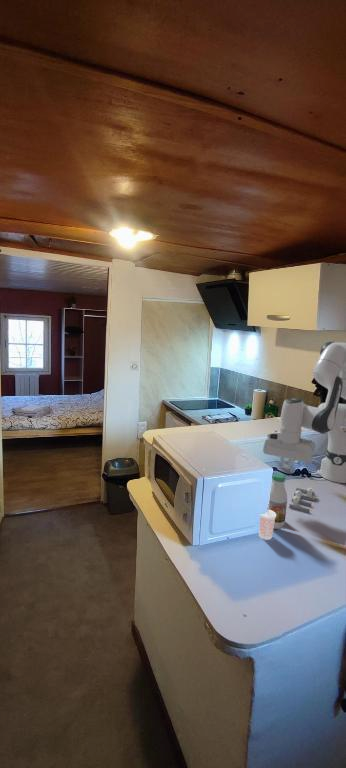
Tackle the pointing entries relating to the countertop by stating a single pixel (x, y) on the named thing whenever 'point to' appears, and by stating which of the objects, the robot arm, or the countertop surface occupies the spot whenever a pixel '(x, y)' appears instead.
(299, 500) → the switch bank
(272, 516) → the beverage cup
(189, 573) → the countertop surface
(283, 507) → the milk bottle
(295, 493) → the tab
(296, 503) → the tab
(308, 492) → the tab
